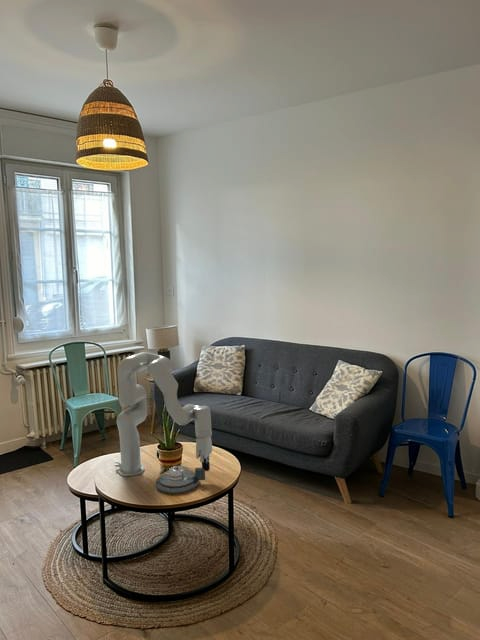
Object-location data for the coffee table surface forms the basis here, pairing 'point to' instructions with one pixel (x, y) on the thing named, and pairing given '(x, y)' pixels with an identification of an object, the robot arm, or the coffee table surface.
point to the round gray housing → (188, 479)
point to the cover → (176, 473)
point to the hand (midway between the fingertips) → (206, 470)
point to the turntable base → (176, 490)
